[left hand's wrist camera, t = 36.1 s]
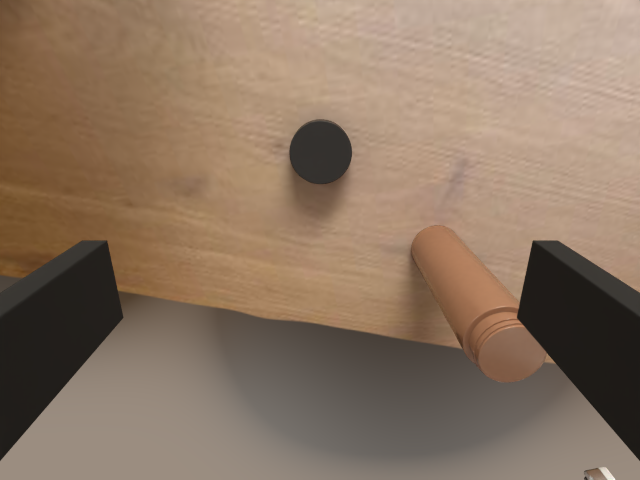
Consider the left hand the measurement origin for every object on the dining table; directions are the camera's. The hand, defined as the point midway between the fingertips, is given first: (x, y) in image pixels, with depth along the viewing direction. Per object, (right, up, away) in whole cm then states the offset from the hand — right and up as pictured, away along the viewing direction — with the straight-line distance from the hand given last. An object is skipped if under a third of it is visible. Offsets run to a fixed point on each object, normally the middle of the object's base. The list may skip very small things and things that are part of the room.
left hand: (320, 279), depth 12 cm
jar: (+13, 0, +32) cm, 34 cm away
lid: (0, +10, +26) cm, 28 cm away
